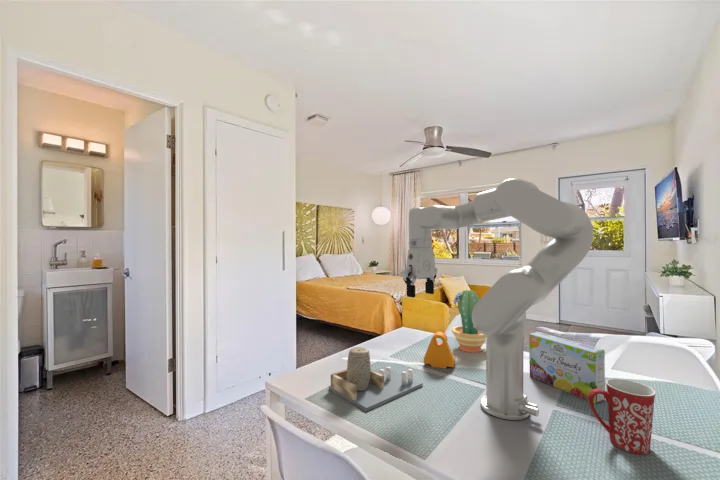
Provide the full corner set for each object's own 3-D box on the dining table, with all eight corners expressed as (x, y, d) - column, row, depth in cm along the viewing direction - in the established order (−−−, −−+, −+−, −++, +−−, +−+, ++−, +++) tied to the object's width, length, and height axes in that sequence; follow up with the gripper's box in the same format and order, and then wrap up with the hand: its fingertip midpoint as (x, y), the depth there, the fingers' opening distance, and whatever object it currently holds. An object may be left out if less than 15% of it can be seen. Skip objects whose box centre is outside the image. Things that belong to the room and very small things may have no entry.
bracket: (455, 362, 128) (455, 331, 128) (453, 369, 122) (453, 336, 122) (427, 358, 132) (427, 328, 132) (423, 365, 126) (423, 333, 126)
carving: (370, 392, 102) (370, 353, 101) (345, 392, 102) (345, 352, 102) (370, 383, 108) (370, 346, 108) (347, 383, 108) (347, 346, 108)
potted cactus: (464, 340, 155) (464, 286, 155) (496, 349, 143) (496, 290, 143) (444, 348, 145) (443, 290, 145) (476, 357, 133) (476, 294, 133)
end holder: (383, 388, 104) (383, 375, 104) (353, 400, 97) (353, 386, 97) (359, 376, 113) (359, 364, 113) (330, 387, 105) (330, 374, 105)
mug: (645, 437, 80) (645, 381, 80) (664, 461, 71) (664, 398, 71) (583, 427, 84) (582, 373, 84) (594, 449, 76) (594, 389, 76)
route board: (422, 386, 108) (422, 370, 108) (366, 411, 93) (366, 393, 92) (383, 369, 122) (383, 355, 122) (328, 389, 106) (328, 373, 106)
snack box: (528, 377, 115) (528, 333, 115) (538, 374, 117) (538, 330, 117) (595, 404, 96) (595, 351, 96) (606, 400, 98) (606, 348, 98)
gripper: (411, 245, 105) (412, 300, 105) (445, 244, 116) (445, 293, 116) (394, 244, 111) (394, 296, 111) (427, 243, 122) (427, 291, 122)
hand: (420, 295), depth 113 cm, fingers open, 9 cm apart
